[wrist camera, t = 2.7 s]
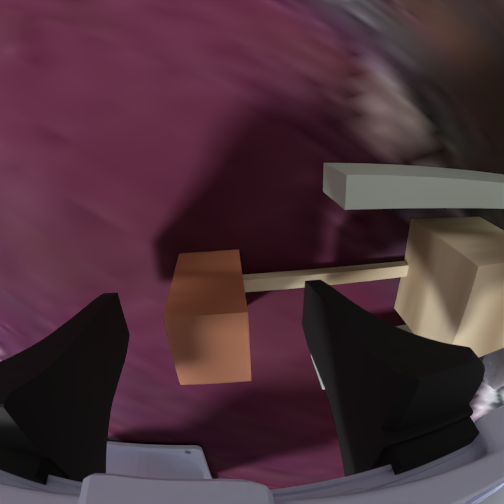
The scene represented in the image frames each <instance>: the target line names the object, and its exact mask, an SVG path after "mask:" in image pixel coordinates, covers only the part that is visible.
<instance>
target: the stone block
mask: <svg viewBox="0 0 504 504" xmlns="http://www.w3.org/2000/svg"><path fill="white" fill-rule="evenodd" d="M482 362H483V364H484V366H485V373H484V378H483V379H484V381H485V383H486V384H488V385H490V386H491V387H492V388H493V389H498V388H500V387H502V386H504V348H501V349H499V350H496V351H494V352H492V353H489V354H487V355H484V356H483V358H482Z"/></svg>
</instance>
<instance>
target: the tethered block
mask: <svg viewBox="0 0 504 504" xmlns="http://www.w3.org/2000/svg"><path fill="white" fill-rule="evenodd" d="M397 277H401V279H400V284H399V288H398V293H397V298H396V302H395V306H394V309H395V310H396V311H397V312H398V314H399V315H400V316H401V318H402V319H403V320H404V321H405V323H406V324H407V325H408V327H409V328H410V329H411V331H412V332H413V333H414V334H416V335H419V336H422V337H425V338H428V339H432V340H436V341H439V342H443V343H448V344H454V345H460V346H465V347H470V348H471V349H472V350H473V351H474V353H475V354H476V355H477V356H478V357H481V356H484V355H487V354H489V353H492V352H494V351H496V350H499V349H501V348H504V230H502V229H500V228H499V227H497V226H495V225H494V224H492V223H490V222H488V221H486V220H485V219H483V218H481V217H443V218H411V220H410V227H409V234H408V240H407V246H406V252H405V258H404V261H397V262H387V263H376V264H365V265H354V266H343V267H332V268H320V269H308V270H296V271H283V272H270V273H257V274H243V275H242V268H241V261H240V254H239V249H236V250H221V251H207V252H192V253H179V256H178V260H177V264H176V267H175V271H174V275H173V279H172V283H171V287H170V291H169V295H168V299H167V304H166V308H165V312H164V316H163V318H164V322H165V327H166V331H167V335H168V339H169V344H170V348H171V352H172V356H173V360H174V363H175V367H176V371H177V375H178V378H179V382H180V385H186V384H212V383H229V382H243V381H251V365H250V346H249V325H248V310H247V303H246V296H245V292H256V291H269V290H281V289H292V288H303V287H305V281H308V280H320V279H321V280H322V281H324V282H325V283H327V284H328V285H334V284H344V283H353V282H363V281H372V280H380V279H389V278H397Z"/></svg>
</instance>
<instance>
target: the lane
mask: <svg viewBox="0 0 504 504" xmlns="http://www.w3.org/2000/svg"><path fill="white" fill-rule="evenodd" d="M323 192H324V193H325V194H326V195H327V196H329V197H330V198H331V199H332V200H334V201H335V202H336V203H337V204H338V205H340V206H341V207H342V208H343V209H344V210H358V209H403V208H492V209H504V175H503V174H496V173H488V172H480V171H471V170H461V169H451V168H440V167H427V166H412V165H394V164H369V163H324V164H323ZM396 327H398V328H400V329H403V330H405V331H408V332H411V333H413V332H412V331H411V329H410V328H409V327H408V325H407V324H405V325H400V326H396ZM413 334H414V333H413ZM311 358H312V355H311ZM312 361H313V364H314V366H315V369H316V372H317V375H318V378H319V381H320V384H321V386H322V389H323V390H324V389H325V387H324V385H323V383H322V380H321V378H320V375H319V373H318V370H317V368H316V365H315V363H314V360H313V358H312Z"/></svg>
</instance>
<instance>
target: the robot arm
mask: <svg viewBox="0 0 504 504" xmlns="http://www.w3.org/2000/svg"><path fill="white" fill-rule="evenodd" d="M302 325H303V329H304V333H305V338H306V341H307V345H308V348H309V350H310V353H311V355H312V358H313V360H314V363H315V365H316V368H317V370H318V373H319V375H320V378H321V380H322V383H323V385H324V387H325V390H326V393H327V396H328V399H329V403H330V407H331V411H332V415H333V419H334V423H335V427H336V432H337V436H338V441H339V446H340V451H341V456H342V461H343V467H344V473H345V477H342V478H337V479H333V480H328V481H323V482H318V483H313V484H307V485H301V486H295V487H288V488H281V489H273V490H269V489H268V488H267V487H266V486H265V485H263V484H261V483H256V482H252V481H248V480H244V479H212V476H211V473H210V471H209V468H208V465H207V462H206V459H205V456H204V453H203V450H202V448H201V447H200V446H197V445H154V444H136V443H123V442H112V441H107V437H108V427H109V419H110V412H111V406H112V402H113V398H114V395H115V391H116V388H117V384H118V381H119V378H120V374H121V371H122V368H123V365H124V361H125V358H126V354H127V348H128V341H129V335H130V334H129V331H128V328H127V324H126V321H125V318H124V314H123V311H122V307H121V304H120V300H119V297H118V293H104V294H102V295H100V296H99V297H98V298H96V299H95V300H94V301H92V302H91V303H90V304H89V305H87V306H86V307H85V308H84V309H82V310H81V311H80V312H79V313H77V314H76V315H75V316H74V317H73V318H71V319H70V320H69V321H67V322H66V323H65V324H63V325H62V326H61V327H60V328H58V329H57V330H56V331H54V332H53V333H52V334H50V335H49V336H47V337H46V338H44V339H43V340H41V341H40V342H38V343H36V344H35V345H33V346H31V347H30V348H28V349H26V350H24V351H22V352H20V353H18V354H16V355H14V356H12V357H10V358H8V359H6V360H3V361H1V362H0V504H477V503H478V502H480V501H482V500H483V499H485V498H486V497H488V496H490V495H491V494H493V493H494V492H496V491H497V490H498V489H499V488H501V487H502V486H503V485H504V407H503V406H501V407H499V408H497V409H495V410H493V411H491V412H489V413H488V414H486V415H484V416H482V417H480V418H479V419H478V420H477V421H475V422H473V421H472V419H471V418H470V416H471V415H472V414H473V410H472V408H471V407H470V405H469V403H470V401H471V400H472V398H473V396H474V395H475V393H476V391H477V390H478V388H479V386H480V384H481V382H482V380H483V378H484V373H485V366H484V364H483V362H482V361H481V360H480V359H479V357H478V356H477V355H476V354H475V353H474V351H473V350H472V349H471V348H470V347H465V346H460V345H454V344H448V343H443V342H439V341H436V340H432V339H428V338H425V337H422V336H419V335H416V334H413V333H411V332H408V331H405V330H403V329H400V328H398V327H396V326H394V325H391V324H389V323H387V322H385V321H383V320H381V319H379V318H378V317H376V316H374V315H372V314H371V313H369V312H367V311H366V310H364V309H362V308H361V307H359V306H358V305H356V304H355V303H353V302H352V301H350V300H349V299H347V298H346V297H345V296H343V295H342V294H340V293H339V292H338V291H336V290H335V289H334V288H332V287H331V286H329V285H328V284H327V283H325V282H324V281H322V280H321V279H320V280H308V281H305V289H304V305H303V320H302Z"/></svg>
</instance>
